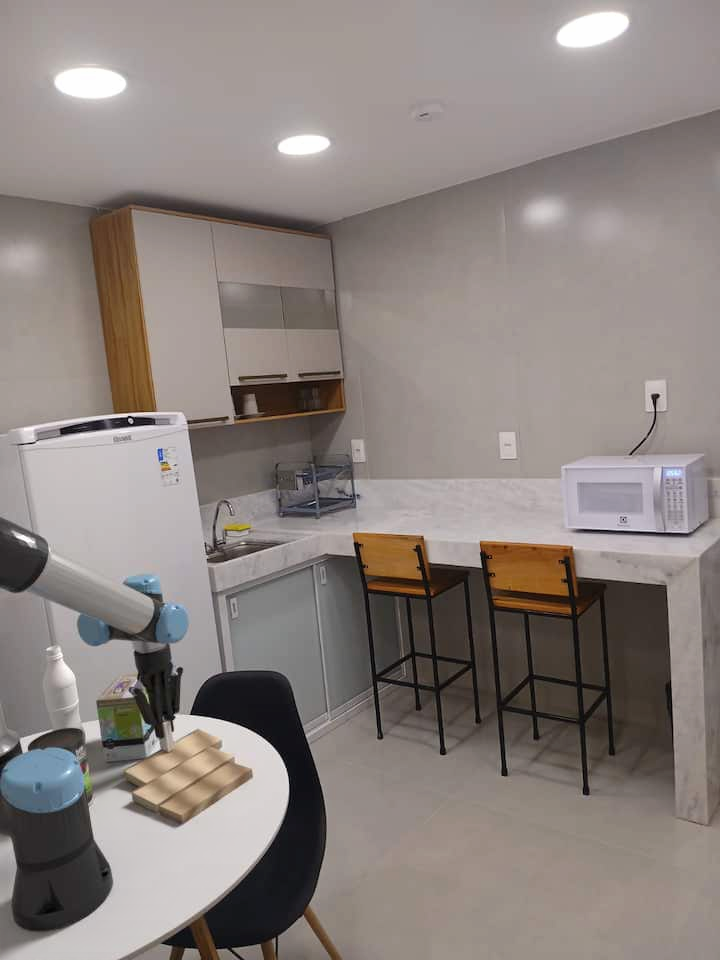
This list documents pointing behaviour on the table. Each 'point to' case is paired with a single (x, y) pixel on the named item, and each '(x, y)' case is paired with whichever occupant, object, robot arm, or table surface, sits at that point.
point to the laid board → (205, 792)
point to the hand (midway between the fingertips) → (167, 748)
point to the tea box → (123, 722)
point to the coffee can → (71, 742)
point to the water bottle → (61, 692)
